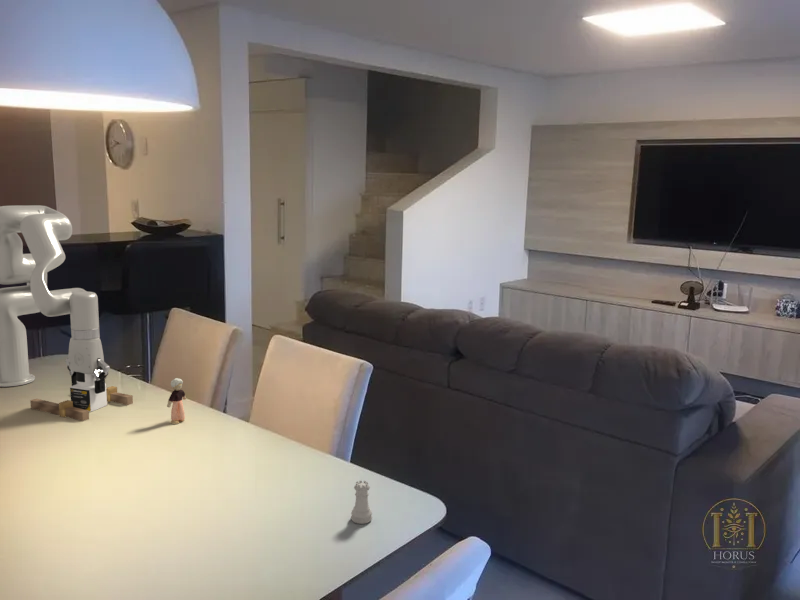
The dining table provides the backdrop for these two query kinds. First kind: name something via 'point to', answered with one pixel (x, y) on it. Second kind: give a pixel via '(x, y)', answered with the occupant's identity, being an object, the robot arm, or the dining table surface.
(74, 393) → the medicine bottle
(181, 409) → the grandmother figurine
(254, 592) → the dining table surface
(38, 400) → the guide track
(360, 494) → the rook chess piece
